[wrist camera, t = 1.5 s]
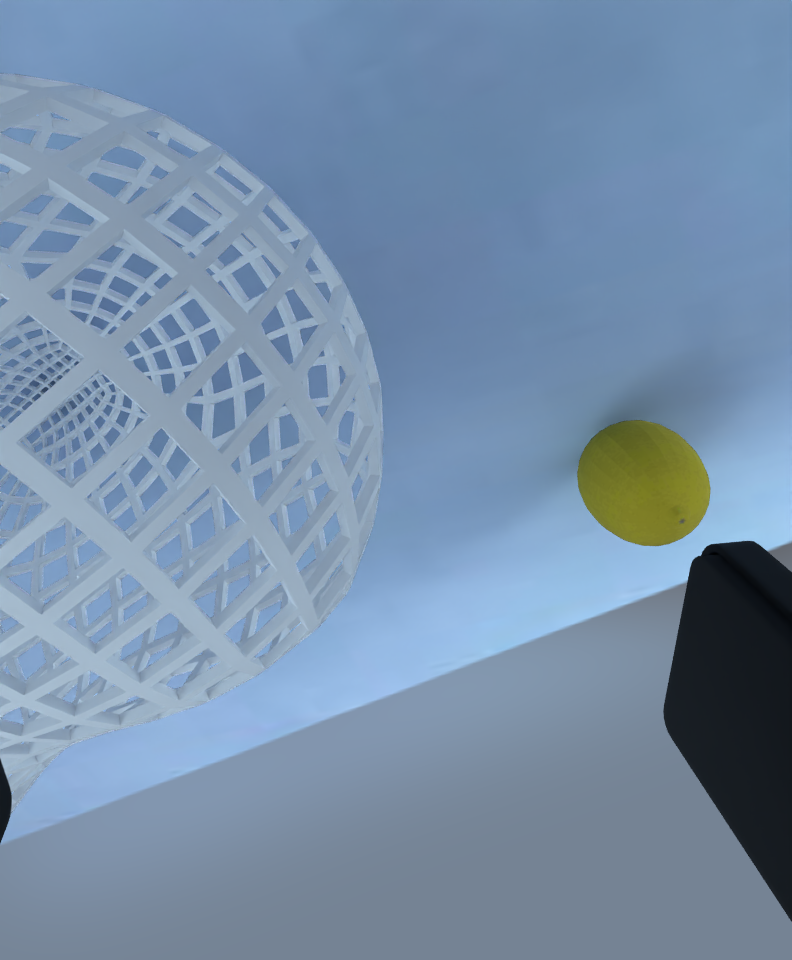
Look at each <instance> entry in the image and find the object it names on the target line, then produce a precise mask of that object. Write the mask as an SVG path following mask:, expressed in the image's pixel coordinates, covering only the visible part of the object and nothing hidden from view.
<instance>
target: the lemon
mask: <svg viewBox="0 0 792 960" xmlns="http://www.w3.org/2000/svg"><path fill="white" fill-rule="evenodd" d="M577 477H578V487H579V491H580V493H581V496H582V498H583V501H584V503H585V505H586V507H587V509H588V510H589V511H590V513H591V514H592V515H593V516H594V518H595V519H596V520H597V521H598V522H599V523H600V524H601V525H602V526H603V527H604V528H606V529H607V530H609V531H610V532H612V533H613V534H615V535H616V536H618V537H620V538H621V539H623V540H626V541H628V542H632V543H635V544H639V545H643V546H661V545H666V544H670V543H672V542H675V541H677V540H679V539H682V538H683V537H685V536H686V535H688V534H689V533H691V532H692V531H693V530H694V529H695V528H696V527H697V526H698V524H699V523H700V521H701V520H702V518H703V517H704V515H705V513H706V510H707V508H708V505H709V499H710V483H709V477H708V474H707V472H706V469H705V467H704V465H703V463H702V461H701V459H700V457H699V456H698V454H697V453H696V452H695V450H694V449H693V448H692V447H691V446H690V445H689V444H688V443H687V442H686V441H685V440H684V439H683V438H682V437H681V436H680V435H678V434H677V433H675V432H673V431H671V430H670V429H668V428H666V427H664V426H662V425H660V424H657V423H652V422H647V421H642V420H632V421H623V422H619V423H616V424H613V425H610V426H608V427H607V428H605V429H603V430H601V431H600V432H599V433H598V434H596V435H595V436H594V437H593V438H592V439H591V440H590V442H589V443H588V444H587V446H586V447H585V448H584V451H583V453H582V455H581V458H580V460H579V466H578V471H577Z"/></svg>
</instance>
